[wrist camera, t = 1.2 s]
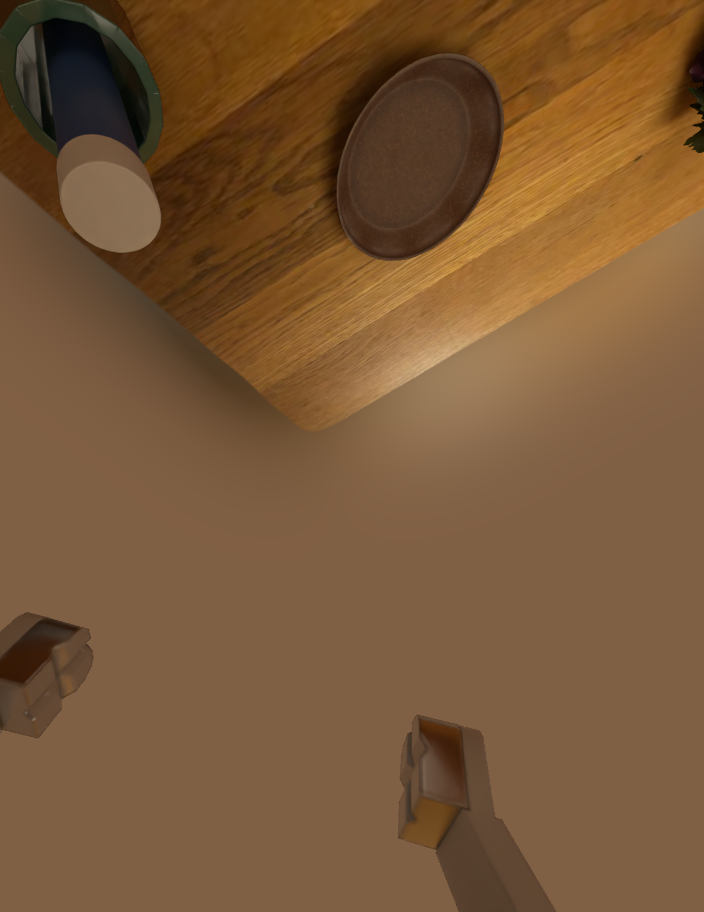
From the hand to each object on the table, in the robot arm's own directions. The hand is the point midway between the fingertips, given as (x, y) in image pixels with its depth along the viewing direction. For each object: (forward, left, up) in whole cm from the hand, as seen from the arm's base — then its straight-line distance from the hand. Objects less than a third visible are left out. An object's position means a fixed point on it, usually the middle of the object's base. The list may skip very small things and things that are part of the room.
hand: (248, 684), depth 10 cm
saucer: (+22, -1, -33) cm, 40 cm away
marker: (-1, +3, -32) cm, 32 cm away
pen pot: (-1, +3, -33) cm, 33 cm away
